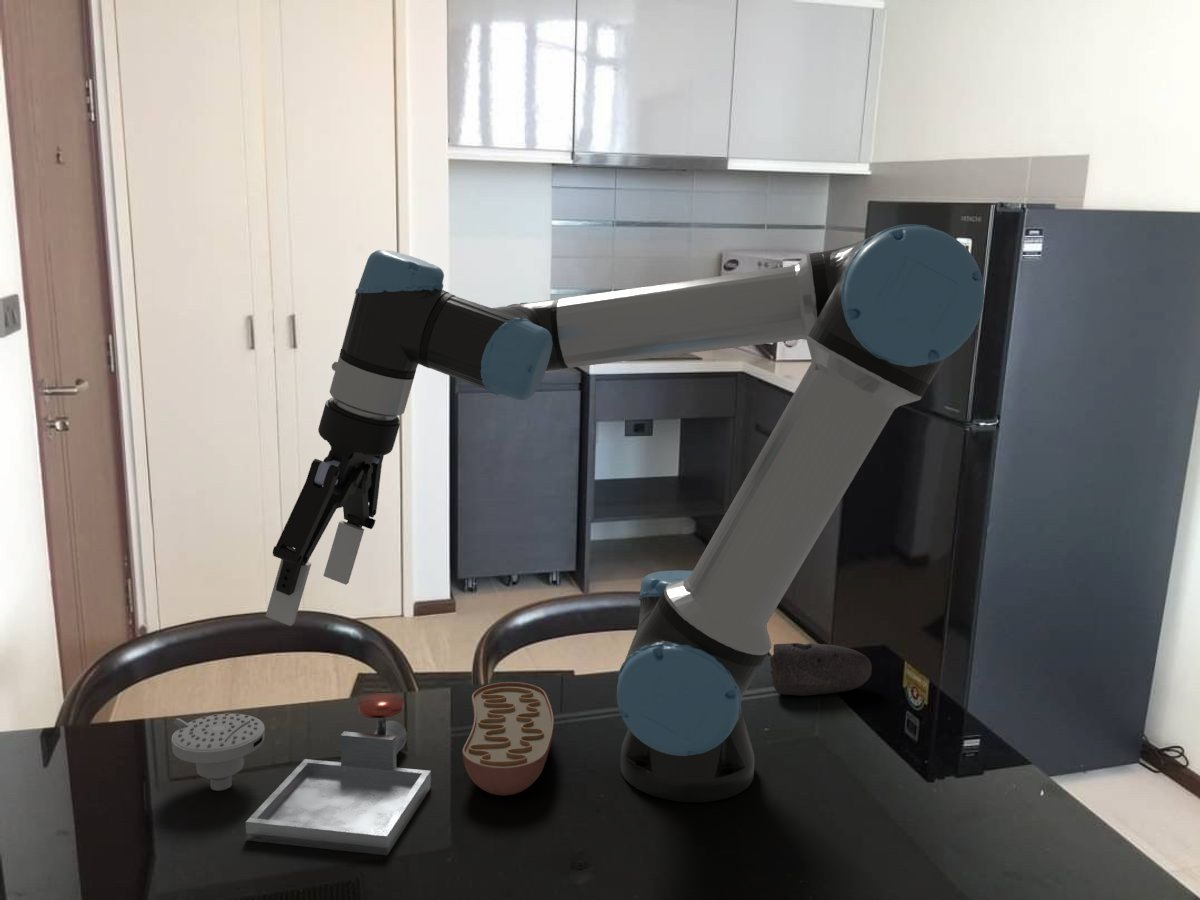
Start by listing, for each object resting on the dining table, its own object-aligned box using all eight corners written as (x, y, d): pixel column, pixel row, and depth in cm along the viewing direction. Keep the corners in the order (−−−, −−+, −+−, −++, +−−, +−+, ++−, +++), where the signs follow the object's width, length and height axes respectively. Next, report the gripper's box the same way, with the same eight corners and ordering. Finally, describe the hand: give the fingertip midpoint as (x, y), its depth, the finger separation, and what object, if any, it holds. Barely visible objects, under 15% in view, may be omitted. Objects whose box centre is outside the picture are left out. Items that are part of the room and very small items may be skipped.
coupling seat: (387, 855, 100) (385, 784, 99) (246, 840, 103) (243, 770, 101) (452, 754, 121) (451, 694, 120) (334, 744, 124) (332, 685, 122)
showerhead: (198, 700, 118) (280, 709, 116) (201, 760, 119) (282, 770, 117) (147, 736, 109) (234, 747, 107) (151, 801, 110) (237, 812, 108)
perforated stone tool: (863, 682, 145) (866, 635, 144) (878, 698, 140) (882, 648, 139) (759, 687, 143) (761, 639, 142) (771, 702, 138) (773, 652, 137)
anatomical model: (474, 719, 132) (473, 681, 131) (552, 718, 132) (553, 681, 131) (459, 812, 109) (459, 767, 108) (554, 811, 110) (554, 766, 109)
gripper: (376, 381, 116) (325, 553, 120) (272, 410, 91) (214, 625, 96) (438, 404, 115) (385, 576, 120) (351, 439, 91) (288, 654, 95)
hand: (309, 598), depth 108 cm, fingers open, 13 cm apart
